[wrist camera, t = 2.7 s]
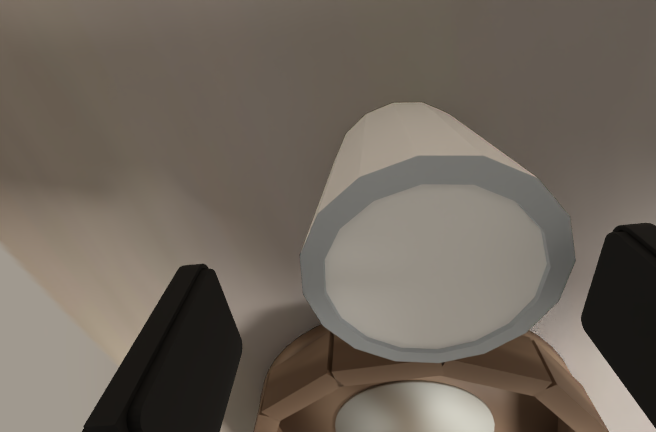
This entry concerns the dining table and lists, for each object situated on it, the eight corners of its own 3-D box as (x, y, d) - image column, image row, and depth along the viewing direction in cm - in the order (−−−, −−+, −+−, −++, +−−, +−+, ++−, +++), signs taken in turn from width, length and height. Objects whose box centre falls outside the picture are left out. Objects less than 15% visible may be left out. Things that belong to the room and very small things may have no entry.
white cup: (287, 147, 15) (243, 247, 9) (440, 43, 13) (516, 86, 7) (374, 258, 18) (383, 391, 12) (513, 190, 15) (613, 314, 9)
